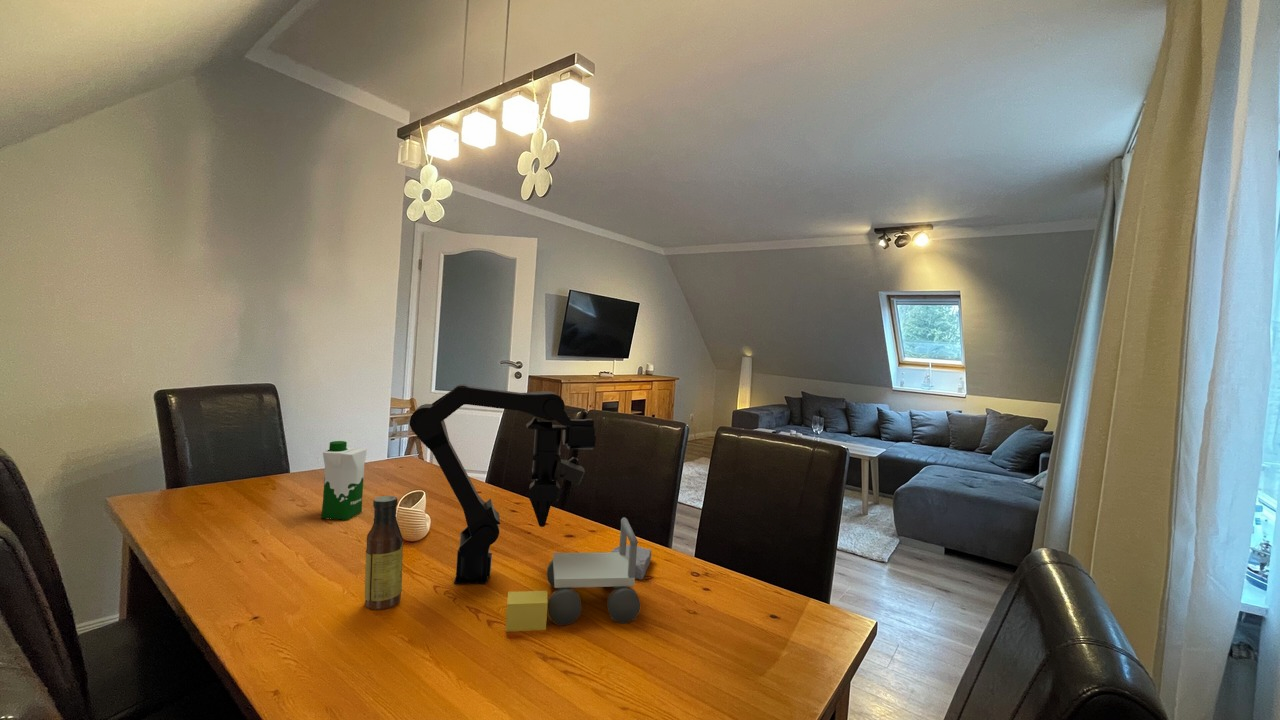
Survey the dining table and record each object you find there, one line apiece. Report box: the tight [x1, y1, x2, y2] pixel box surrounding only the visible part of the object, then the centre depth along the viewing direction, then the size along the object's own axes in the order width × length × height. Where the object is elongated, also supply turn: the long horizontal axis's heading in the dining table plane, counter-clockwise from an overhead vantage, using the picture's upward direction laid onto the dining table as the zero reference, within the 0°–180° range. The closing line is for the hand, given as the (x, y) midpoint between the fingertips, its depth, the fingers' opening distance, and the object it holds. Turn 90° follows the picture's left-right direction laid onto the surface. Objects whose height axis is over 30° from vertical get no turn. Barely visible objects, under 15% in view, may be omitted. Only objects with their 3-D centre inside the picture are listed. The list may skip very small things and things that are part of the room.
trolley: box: [546, 517, 641, 626], centre depth 102 cm, size 17×16×15 cm
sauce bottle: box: [364, 495, 404, 611], centre depth 96 cm, size 6×6×20 cm
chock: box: [504, 590, 549, 632], centre depth 93 cm, size 7×4×5 cm, turn 101°
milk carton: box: [320, 440, 368, 521], centre depth 140 cm, size 9×9×20 cm
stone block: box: [610, 544, 652, 581], centre depth 120 cm, size 12×5×10 cm
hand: (542, 519), depth 113 cm, fingers open, 9 cm apart
